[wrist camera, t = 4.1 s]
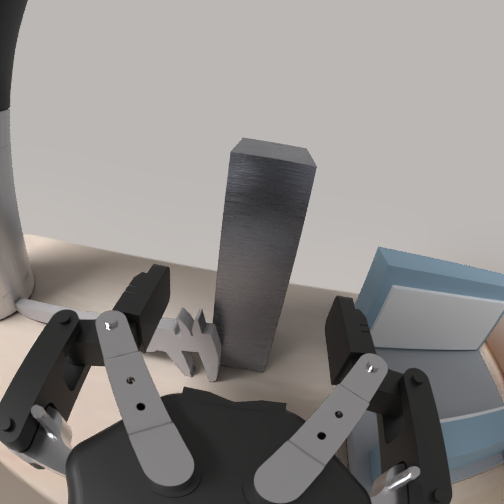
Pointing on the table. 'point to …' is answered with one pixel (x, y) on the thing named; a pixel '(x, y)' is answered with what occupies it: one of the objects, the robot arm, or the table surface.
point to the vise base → (430, 340)
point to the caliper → (157, 335)
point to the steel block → (258, 246)
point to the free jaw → (463, 439)
